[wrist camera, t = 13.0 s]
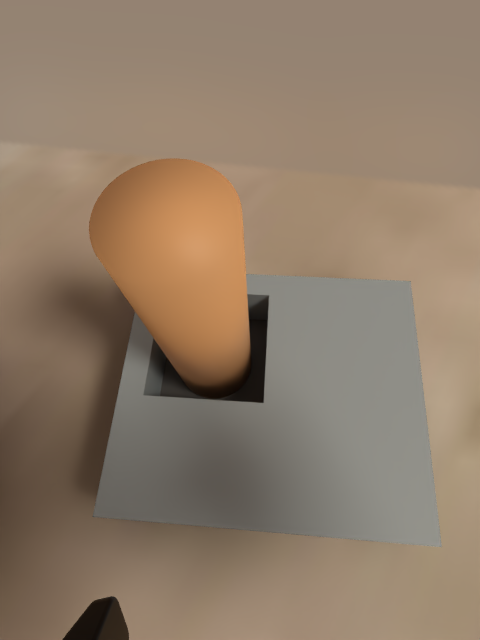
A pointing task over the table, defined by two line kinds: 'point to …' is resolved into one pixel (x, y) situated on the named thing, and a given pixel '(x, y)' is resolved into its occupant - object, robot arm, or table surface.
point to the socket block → (285, 423)
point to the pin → (181, 266)
